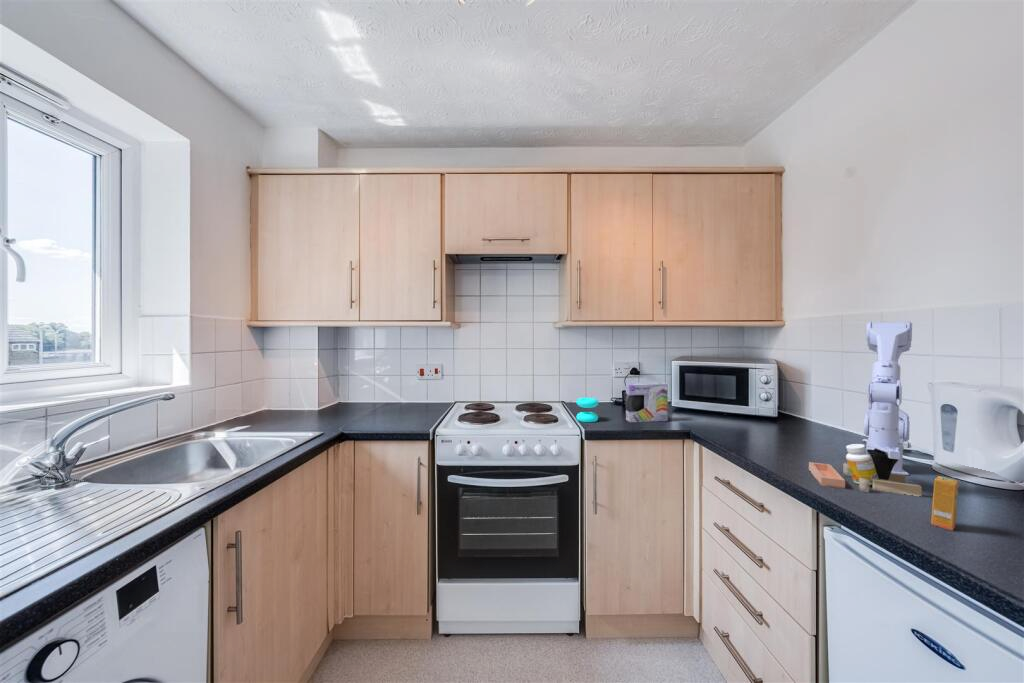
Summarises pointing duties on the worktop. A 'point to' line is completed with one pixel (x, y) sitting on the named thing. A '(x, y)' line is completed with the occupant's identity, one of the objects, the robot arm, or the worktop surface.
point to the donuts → (587, 404)
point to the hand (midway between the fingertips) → (882, 478)
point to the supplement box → (944, 502)
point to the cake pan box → (646, 402)
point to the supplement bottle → (860, 463)
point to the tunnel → (887, 484)
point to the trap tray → (826, 475)
